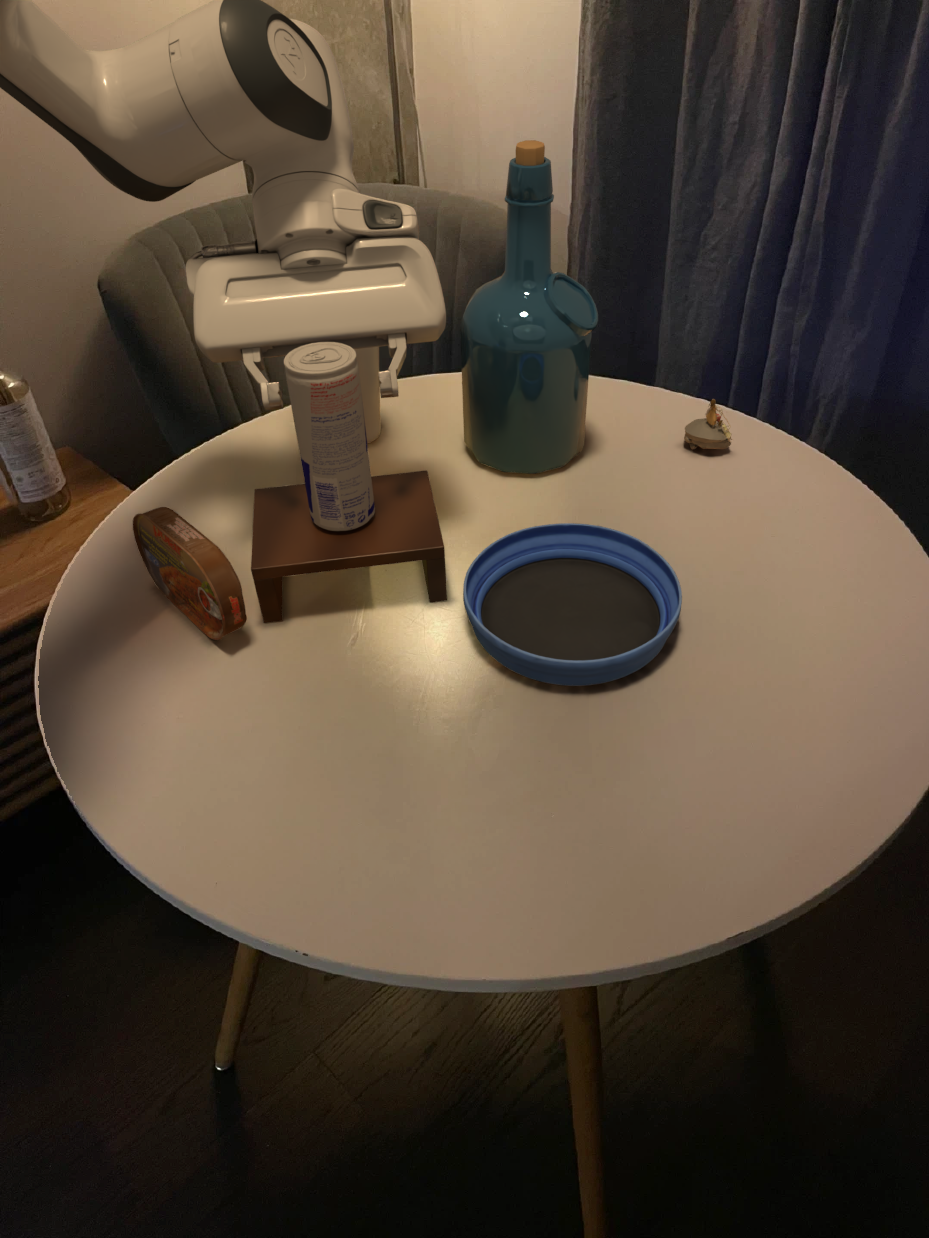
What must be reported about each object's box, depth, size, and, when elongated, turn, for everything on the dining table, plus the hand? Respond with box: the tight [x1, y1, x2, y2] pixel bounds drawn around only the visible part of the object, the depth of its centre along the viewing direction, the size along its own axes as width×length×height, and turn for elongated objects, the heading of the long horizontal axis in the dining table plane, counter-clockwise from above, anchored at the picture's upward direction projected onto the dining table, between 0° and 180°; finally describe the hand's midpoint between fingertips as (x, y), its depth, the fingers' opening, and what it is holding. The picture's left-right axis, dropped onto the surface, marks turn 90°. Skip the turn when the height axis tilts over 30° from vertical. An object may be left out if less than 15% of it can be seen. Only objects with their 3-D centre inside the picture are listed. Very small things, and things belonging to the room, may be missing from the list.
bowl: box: [462, 522, 683, 687], centre depth 75 cm, size 18×18×4 cm
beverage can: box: [283, 342, 375, 531], centre depth 73 cm, size 6×6×15 cm
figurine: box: [683, 398, 734, 450], centre depth 94 cm, size 5×4×6 cm
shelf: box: [250, 469, 448, 624], centre depth 80 cm, size 16×12×6 cm
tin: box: [132, 506, 248, 641], centre depth 76 cm, size 15×3×8 cm, turn 42°
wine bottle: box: [459, 139, 599, 475], centre depth 87 cm, size 14×13×30 cm
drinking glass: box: [354, 347, 382, 445], centre depth 95 cm, size 7×7×15 cm
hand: (332, 401), depth 72 cm, fingers open, 8 cm apart
